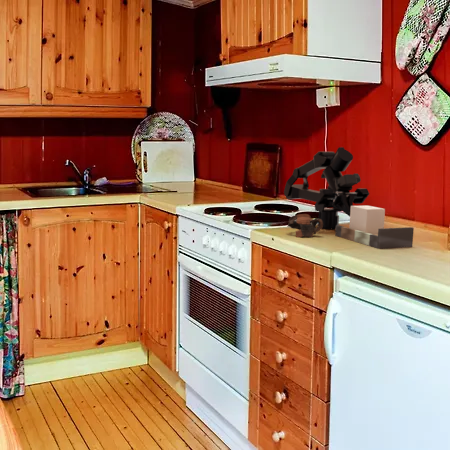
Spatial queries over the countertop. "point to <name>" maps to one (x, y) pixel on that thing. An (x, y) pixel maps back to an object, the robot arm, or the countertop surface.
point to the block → (367, 218)
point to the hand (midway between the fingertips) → (351, 215)
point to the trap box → (379, 237)
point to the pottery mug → (305, 225)
